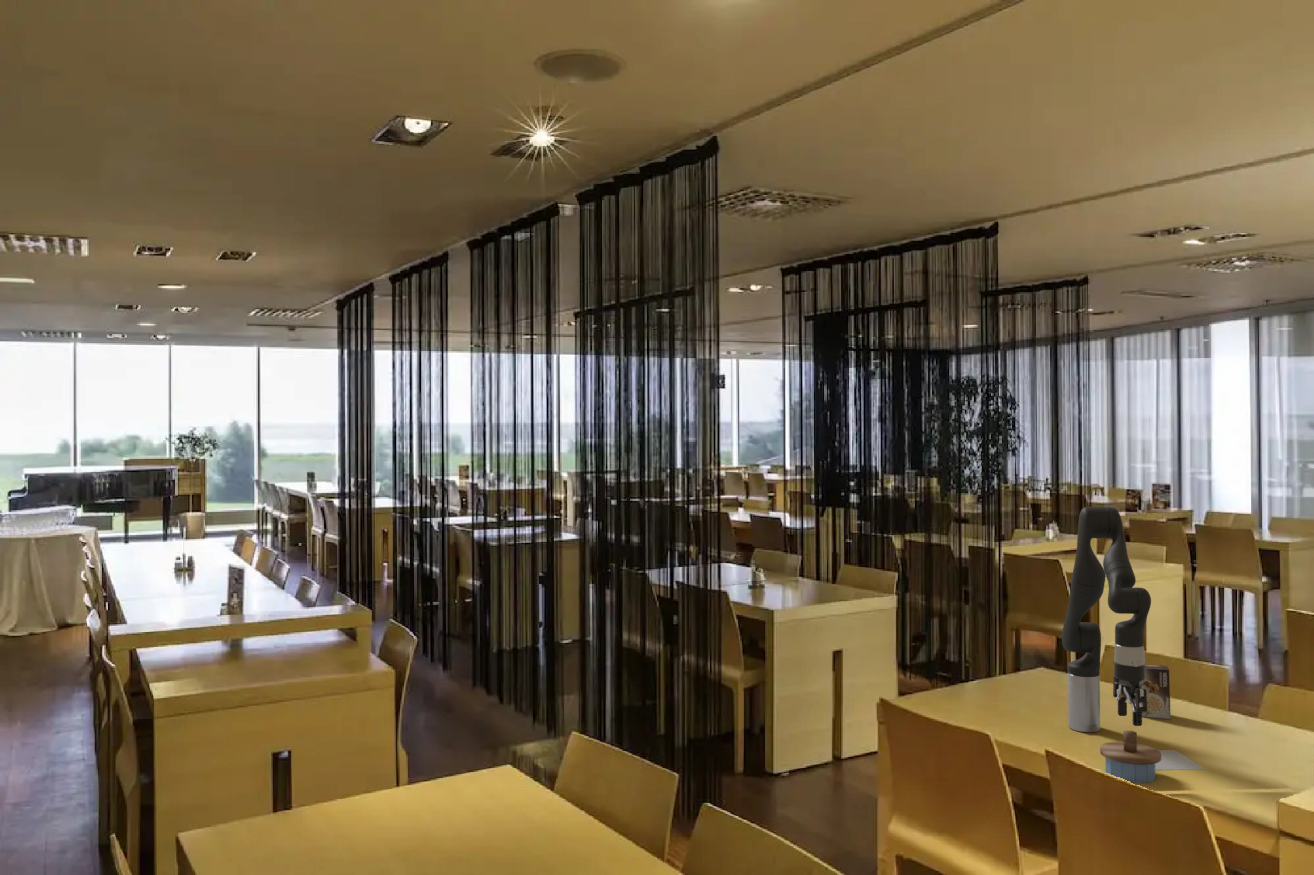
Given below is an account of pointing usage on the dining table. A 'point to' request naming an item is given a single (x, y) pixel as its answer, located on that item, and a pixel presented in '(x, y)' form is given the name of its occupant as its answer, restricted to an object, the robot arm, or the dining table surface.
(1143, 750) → the lid
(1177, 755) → the mat
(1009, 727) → the dining table surface
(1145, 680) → the coffee box
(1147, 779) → the bowl
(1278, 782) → the dining table surface
